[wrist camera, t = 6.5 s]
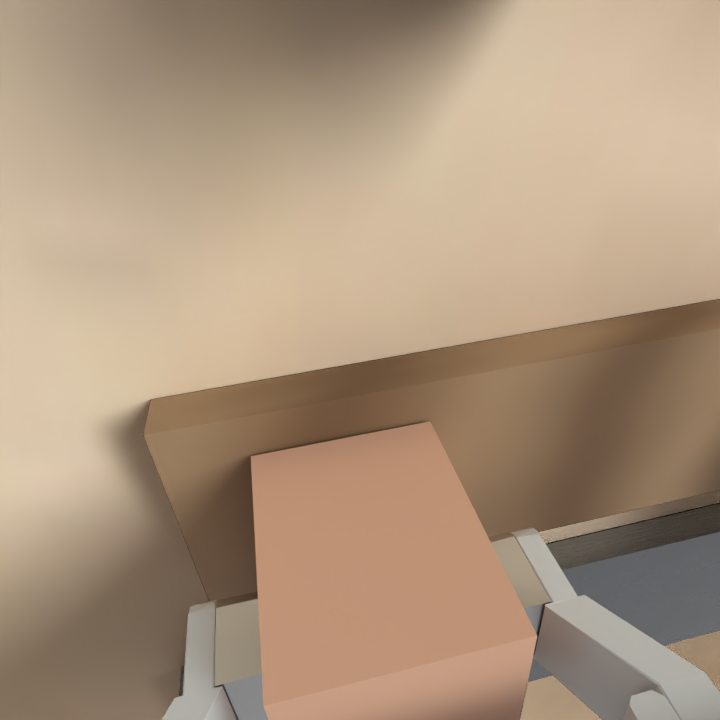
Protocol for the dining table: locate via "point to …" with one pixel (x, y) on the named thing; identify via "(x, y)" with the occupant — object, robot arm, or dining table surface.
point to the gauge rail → (468, 428)
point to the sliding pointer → (381, 587)
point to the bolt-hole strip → (647, 575)
